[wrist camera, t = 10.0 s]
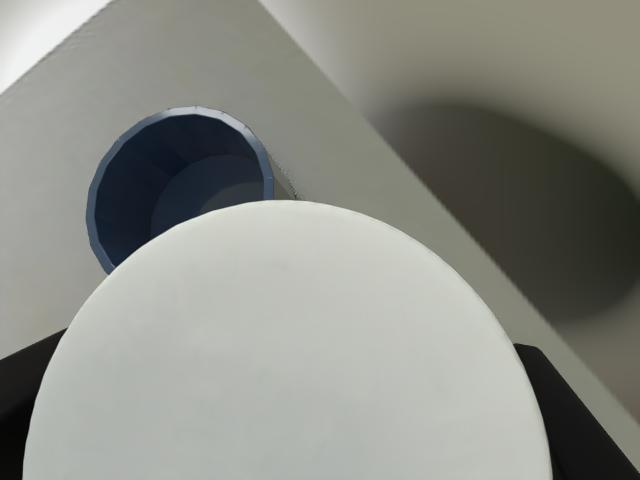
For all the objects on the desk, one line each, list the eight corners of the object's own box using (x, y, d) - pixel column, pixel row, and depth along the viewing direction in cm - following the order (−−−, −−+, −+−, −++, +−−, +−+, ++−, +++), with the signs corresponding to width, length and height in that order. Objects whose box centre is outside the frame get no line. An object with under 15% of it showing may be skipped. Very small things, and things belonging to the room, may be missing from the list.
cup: (167, 329, 23) (105, 328, 18) (134, 184, 25) (71, 148, 20) (321, 273, 22) (299, 257, 17) (272, 128, 24) (241, 77, 19)
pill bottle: (238, 395, 15) (-146, 537, 4) (330, 250, 16) (190, 62, 5) (388, 509, 14) (363, 1171, 3) (484, 343, 14) (766, 363, 3)
